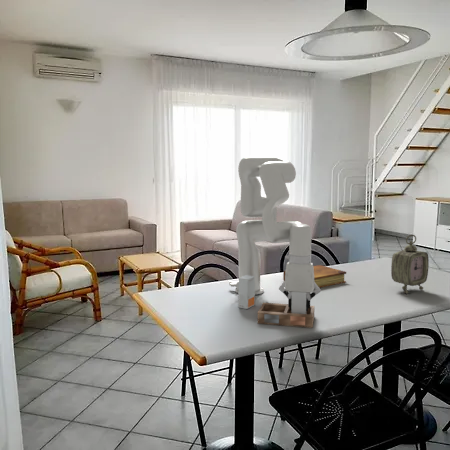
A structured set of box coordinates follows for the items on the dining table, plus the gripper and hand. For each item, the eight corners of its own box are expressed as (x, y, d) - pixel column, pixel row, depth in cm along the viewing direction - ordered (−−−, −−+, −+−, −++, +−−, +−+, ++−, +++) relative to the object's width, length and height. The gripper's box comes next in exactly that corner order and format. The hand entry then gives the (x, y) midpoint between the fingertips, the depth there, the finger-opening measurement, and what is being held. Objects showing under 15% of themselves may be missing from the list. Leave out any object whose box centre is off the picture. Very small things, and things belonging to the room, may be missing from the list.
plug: (291, 317, 156) (291, 286, 154) (292, 312, 161) (293, 282, 159) (305, 318, 155) (306, 287, 153) (306, 314, 159) (307, 283, 158)
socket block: (257, 323, 155) (257, 312, 154) (263, 312, 167) (263, 302, 166) (312, 328, 150) (312, 316, 150) (314, 316, 162) (314, 305, 162)
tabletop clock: (406, 295, 188) (409, 237, 184) (388, 290, 195) (391, 234, 192) (427, 290, 195) (430, 234, 192) (409, 285, 203) (411, 232, 200)
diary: (318, 275, 226) (318, 264, 225) (346, 283, 210) (346, 271, 209) (283, 281, 214) (283, 270, 213) (310, 290, 198) (310, 278, 197)
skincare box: (247, 309, 171) (247, 279, 169) (238, 307, 173) (238, 277, 172) (255, 305, 176) (255, 276, 174) (245, 303, 178) (245, 274, 177)
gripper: (274, 260, 153) (274, 311, 156) (324, 262, 149) (323, 314, 152) (277, 256, 161) (276, 304, 163) (325, 258, 156) (324, 308, 159)
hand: (299, 309), depth 157 cm, fingers closed on plug, 4 cm apart
